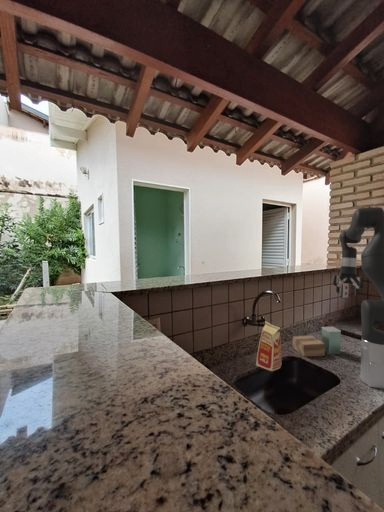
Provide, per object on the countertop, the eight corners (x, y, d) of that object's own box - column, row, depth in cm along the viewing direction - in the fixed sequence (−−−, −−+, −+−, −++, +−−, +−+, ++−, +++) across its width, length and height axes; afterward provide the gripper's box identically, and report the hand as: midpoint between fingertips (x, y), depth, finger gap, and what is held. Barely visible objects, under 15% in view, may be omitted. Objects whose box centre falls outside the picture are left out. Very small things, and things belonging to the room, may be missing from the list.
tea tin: (340, 354, 120) (341, 330, 120) (328, 354, 120) (329, 331, 119) (332, 348, 126) (332, 326, 126) (321, 349, 126) (321, 326, 125)
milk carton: (256, 365, 110) (256, 322, 109) (266, 358, 116) (266, 318, 115) (274, 372, 103) (274, 327, 102) (284, 365, 109) (284, 322, 108)
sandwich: (324, 355, 119) (324, 343, 118) (303, 356, 118) (303, 344, 117) (311, 346, 130) (312, 335, 129) (292, 347, 129) (292, 336, 128)
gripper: (335, 264, 135) (333, 293, 134) (365, 266, 129) (363, 296, 128) (333, 265, 141) (331, 292, 141) (361, 267, 136) (360, 295, 135)
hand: (347, 294), depth 135 cm, fingers open, 8 cm apart
